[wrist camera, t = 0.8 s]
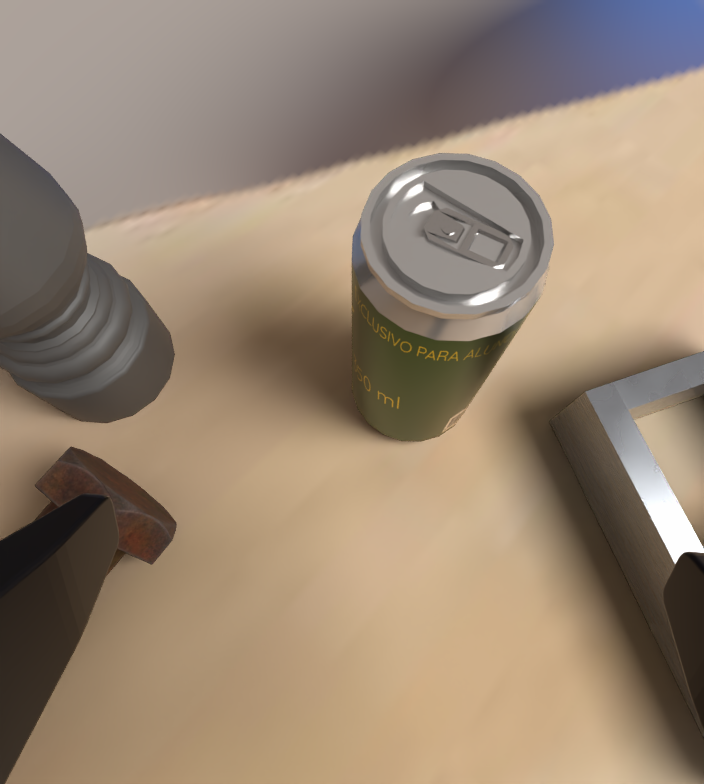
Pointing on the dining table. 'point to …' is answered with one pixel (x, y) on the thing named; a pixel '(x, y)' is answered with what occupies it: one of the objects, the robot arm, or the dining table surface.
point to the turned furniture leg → (70, 306)
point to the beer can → (441, 287)
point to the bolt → (131, 503)
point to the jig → (635, 485)
